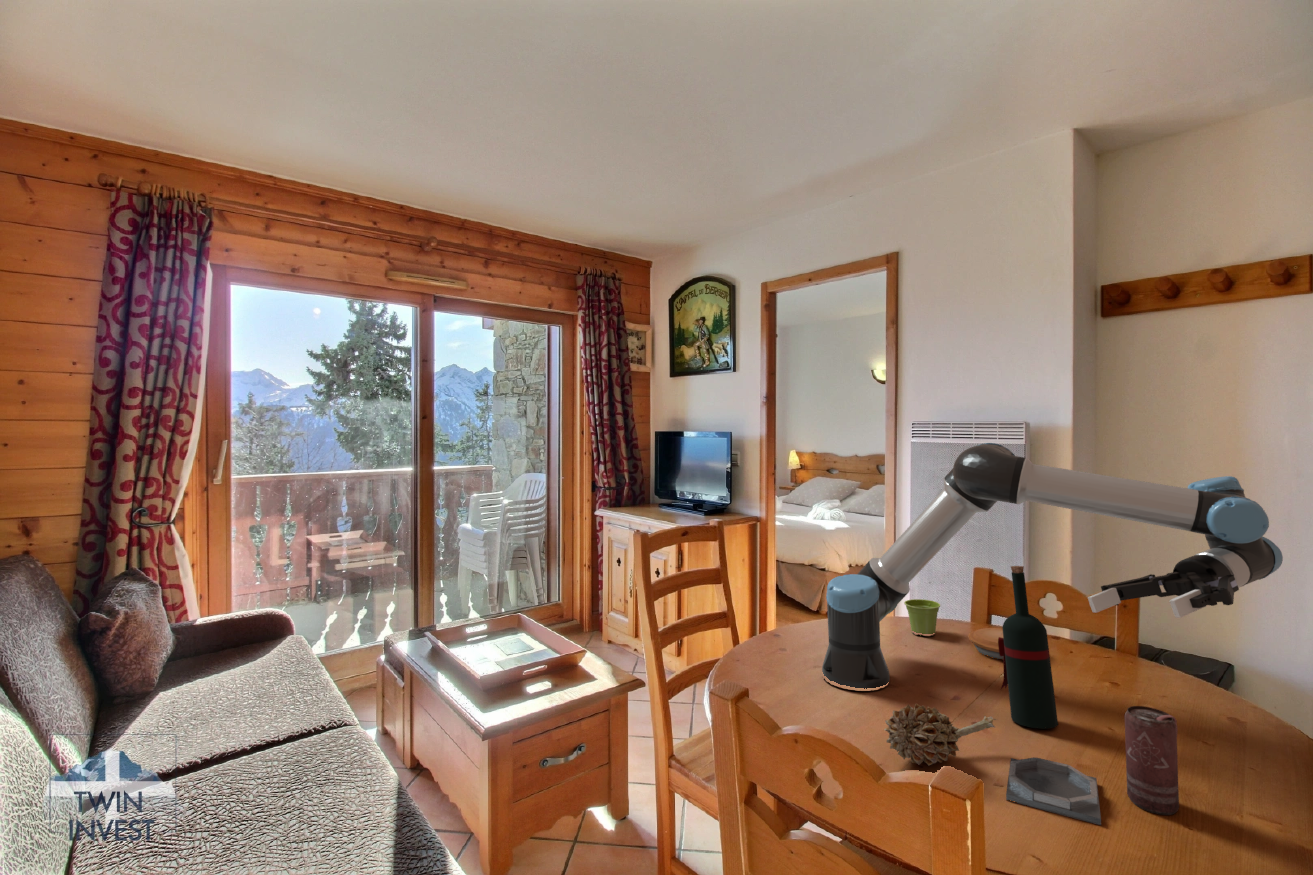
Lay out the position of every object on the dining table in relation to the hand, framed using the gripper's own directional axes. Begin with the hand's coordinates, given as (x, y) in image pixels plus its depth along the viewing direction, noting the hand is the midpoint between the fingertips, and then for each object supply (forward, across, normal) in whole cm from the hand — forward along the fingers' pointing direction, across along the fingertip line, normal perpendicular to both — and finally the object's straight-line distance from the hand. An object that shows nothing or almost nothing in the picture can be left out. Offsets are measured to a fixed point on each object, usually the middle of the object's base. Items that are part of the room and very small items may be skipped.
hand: (1130, 606), depth 101 cm
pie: (-21, +53, -20) cm, 60 cm away
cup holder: (+23, +6, -24) cm, 33 cm away
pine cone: (+30, +20, -20) cm, 41 cm away
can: (+12, -2, -27) cm, 30 cm away
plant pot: (-13, +72, -15) cm, 74 cm away
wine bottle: (+5, +24, -22) cm, 33 cm away
